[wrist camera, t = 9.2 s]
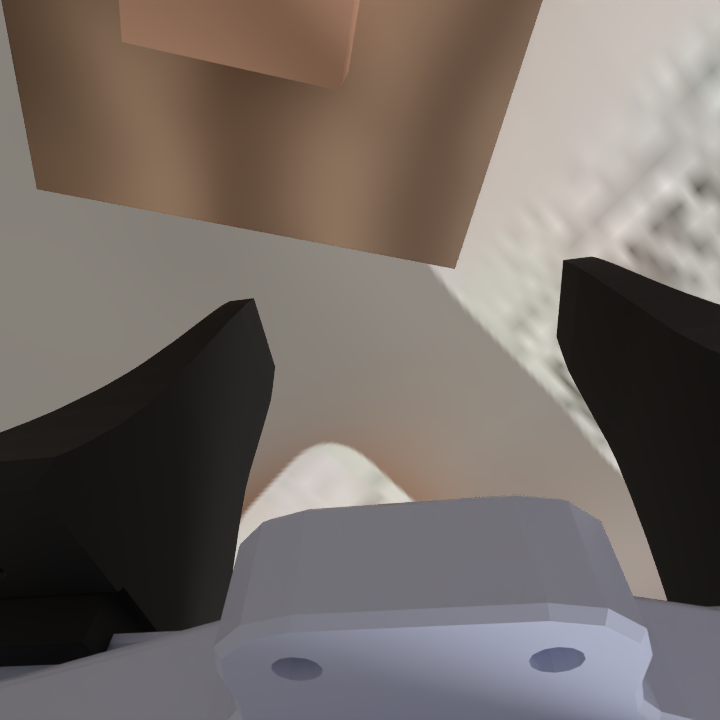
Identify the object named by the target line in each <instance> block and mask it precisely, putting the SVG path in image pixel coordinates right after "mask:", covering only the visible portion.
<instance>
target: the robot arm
mask: <svg viewBox="0 0 720 720" xmlns="http://www.w3.org/2000/svg"><path fill="white" fill-rule="evenodd" d="M557 339H558V342H559V345H560V348H561V351H562V354H563V357H564V360H565V363H566V365H567V368H568V371H569V373H570V374H571V376H572V378H573V380H574V382H575V384H576V386H577V388H578V389H579V391H580V393H581V395H582V397H583V399H584V401H585V402H586V404H587V406H588V408H589V410H590V411H591V413H592V415H593V417H594V419H595V420H596V422H597V424H598V426H599V428H600V429H601V431H602V433H603V435H604V437H605V439H606V440H607V442H608V444H609V446H610V448H611V450H612V452H613V454H614V456H615V458H616V460H617V463H618V465H619V468H620V470H621V473H622V475H623V478H624V480H625V483H626V485H627V488H628V490H629V493H630V495H631V498H632V500H633V503H634V506H635V508H636V511H637V514H638V517H639V519H640V522H641V525H642V527H643V530H644V533H645V535H646V538H647V541H648V544H649V546H650V549H651V553H652V556H653V559H654V561H655V564H656V567H657V570H658V573H659V576H660V579H661V582H662V585H663V588H664V591H665V594H666V598H667V601H663V600H657V599H649V598H643V597H636V596H633V595H632V592H631V590H630V588H629V586H628V583H627V581H626V579H625V576H624V574H623V571H622V569H621V567H620V564H619V562H618V560H617V557H616V555H615V553H614V551H613V548H612V546H611V543H610V541H609V539H608V536H607V534H606V532H605V530H604V527H603V525H602V523H601V521H599V520H598V519H596V518H595V517H593V516H591V515H590V514H588V513H587V512H585V511H583V510H581V509H580V508H578V507H577V506H575V505H573V504H572V503H570V502H568V501H566V500H561V499H554V498H545V497H533V496H524V495H502V496H490V497H474V498H461V499H447V500H433V501H420V502H405V503H392V504H378V505H364V506H350V507H336V508H323V509H309V510H305V511H301V512H297V513H293V514H289V515H286V516H282V517H278V518H274V519H270V520H268V521H265V522H263V523H262V524H261V525H260V526H259V527H258V528H257V529H256V530H254V531H253V532H252V533H251V534H250V535H249V536H248V537H247V538H246V539H245V540H244V541H243V542H242V543H241V544H240V547H239V550H238V554H237V558H236V562H235V566H234V558H235V551H236V545H237V538H238V531H239V524H240V518H241V512H242V506H243V501H244V495H245V489H246V485H247V481H248V477H249V473H250V469H251V466H252V463H253V459H254V456H255V453H256V449H257V446H258V442H259V439H260V436H261V432H262V429H263V426H264V422H265V419H266V415H267V412H268V408H269V404H270V401H271V395H272V388H273V380H274V371H275V365H274V362H273V359H272V355H271V352H270V349H269V346H268V343H267V339H266V336H265V333H264V330H263V326H262V323H261V320H260V317H259V314H258V310H257V307H256V304H255V301H254V299H244V300H236V301H229V302H228V303H226V304H224V305H222V306H221V307H219V308H218V309H216V310H215V311H213V312H212V313H211V314H209V315H208V316H207V317H206V318H204V319H203V320H201V321H200V322H199V323H198V324H196V325H195V326H194V327H192V328H191V329H190V330H188V331H187V332H186V333H184V334H183V335H182V336H181V337H179V338H178V339H177V340H175V341H174V342H173V343H171V344H170V345H168V346H167V347H165V348H164V349H162V350H161V351H160V352H158V353H157V354H155V355H154V356H153V357H151V358H150V359H148V360H147V361H146V362H144V363H142V364H141V365H139V366H138V367H136V368H135V369H133V370H131V371H130V372H128V373H127V374H125V375H123V376H122V377H120V378H118V379H116V380H114V381H113V382H111V383H109V384H108V385H106V386H104V387H102V388H100V389H98V390H96V391H94V392H92V393H90V394H88V395H86V396H84V397H82V398H80V399H78V400H76V401H74V402H72V403H70V404H68V405H66V406H64V407H62V408H59V409H57V410H55V411H53V412H51V413H48V414H46V415H43V416H41V417H39V418H36V419H34V420H32V421H29V422H26V423H24V424H21V425H19V426H16V427H14V428H11V429H9V430H6V431H3V432H1V433H0V720H720V305H719V304H716V303H713V302H710V301H707V300H704V299H701V298H699V297H696V296H693V295H690V294H687V293H684V292H682V291H679V290H676V289H674V288H671V287H669V286H666V285H664V284H661V283H659V282H656V281H654V280H651V279H649V278H647V277H644V276H642V275H639V274H637V273H635V272H632V271H630V270H627V269H625V268H623V267H620V266H618V265H615V264H613V263H610V262H608V261H605V260H602V259H599V258H595V257H585V258H577V259H569V260H563V270H562V281H561V293H560V304H559V315H558V327H557ZM233 566H234V570H233Z"/></svg>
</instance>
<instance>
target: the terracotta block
mask: <svg viewBox="0 0 720 720" xmlns="http://www.w3.org/2000/svg"><path fill="white" fill-rule="evenodd" d="M358 7H359V0H119V11H120V25H121V39H122V42H124V43H128V44H133V45H137V46H142V47H146V48H150V49H155V50H159V51H164V52H168V53H173V54H177V55H182V56H186V57H191V58H195V59H200V60H204V61H209V62H213V63H218V64H222V65H227V66H231V67H236V68H240V69H245V70H249V71H253V72H258V73H262V74H267V75H271V76H276V77H280V78H285V79H289V80H294V81H298V82H303V83H307V84H312V85H316V86H321V87H325V88H330V89H334V90H339V91H340V89H341V87H342V84H343V82H344V80H345V78H346V76H347V74H348V70H349V64H350V58H351V51H352V45H353V39H354V32H355V26H356V19H357V13H358Z"/></svg>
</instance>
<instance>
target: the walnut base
mask: <svg viewBox="0 0 720 720" xmlns="http://www.w3.org/2000/svg"><path fill="white" fill-rule="evenodd" d="M541 3H542V0H359V7H358V13H357V19H356V26H355V32H354V39H353V45H352V51H351V58H350V64H349V70H348V74H347V76H346V78H345V80H344V82H343V84H342V87H341V89H340V91H339V90H334V89H330V88H325V87H321V86H316V85H312V84H307V83H303V82H298V81H294V80H289V79H285V78H280V77H276V76H271V75H267V74H262V73H258V72H253V71H249V70H245V69H240V68H236V67H231V66H227V65H222V64H218V63H213V62H209V61H204V60H200V59H195V58H191V57H186V56H182V55H177V54H173V53H168V52H164V51H159V50H155V49H150V48H146V47H142V46H137V45H133V44H128V43H124V42H122V39H121V25H120V11H119V0H2V6H3V11H4V16H5V21H6V26H7V32H8V37H9V43H10V48H11V53H12V59H13V64H14V69H15V75H16V80H17V85H18V91H19V96H20V101H21V106H22V112H23V117H24V122H25V128H26V133H27V138H28V144H29V149H30V154H31V160H32V165H33V170H34V176H35V180H36V187H37V189H40V190H45V191H50V192H55V193H61V194H66V195H71V196H76V197H81V198H87V199H92V200H98V201H102V202H108V203H113V204H118V205H124V206H128V207H134V208H139V209H144V210H149V211H155V212H160V213H165V214H171V215H176V216H181V217H186V218H192V219H197V220H202V221H207V222H213V223H217V224H223V225H228V226H233V227H238V228H244V229H249V230H254V231H259V232H265V233H270V234H275V235H280V236H286V237H291V238H296V239H301V240H307V241H312V242H317V243H322V244H328V245H333V246H338V247H343V248H349V249H354V250H359V251H364V252H369V253H375V254H380V255H385V256H390V257H396V258H401V259H406V260H411V261H417V262H422V263H427V264H432V265H438V266H443V267H448V268H453V269H455V267H456V263H457V260H458V257H459V254H460V251H461V248H462V245H463V242H464V239H465V236H466V233H467V230H468V227H469V224H470V221H471V218H472V215H473V211H474V208H475V205H476V202H477V199H478V196H479V193H480V190H481V187H482V184H483V181H484V178H485V175H486V172H487V169H488V166H489V163H490V159H491V156H492V153H493V150H494V147H495V144H496V141H497V138H498V135H499V132H500V129H501V126H502V123H503V120H504V117H505V114H506V111H507V107H508V104H509V101H510V98H511V95H512V92H513V89H514V86H515V83H516V80H517V77H518V74H519V71H520V68H521V65H522V62H523V59H524V55H525V52H526V49H527V46H528V43H529V40H530V37H531V34H532V31H533V28H534V25H535V22H536V19H537V16H538V13H539V10H540V7H541Z"/></svg>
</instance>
